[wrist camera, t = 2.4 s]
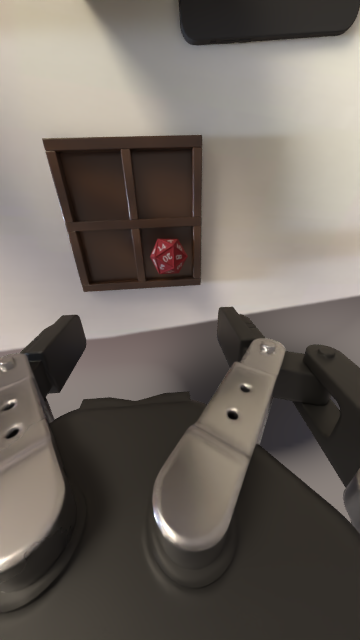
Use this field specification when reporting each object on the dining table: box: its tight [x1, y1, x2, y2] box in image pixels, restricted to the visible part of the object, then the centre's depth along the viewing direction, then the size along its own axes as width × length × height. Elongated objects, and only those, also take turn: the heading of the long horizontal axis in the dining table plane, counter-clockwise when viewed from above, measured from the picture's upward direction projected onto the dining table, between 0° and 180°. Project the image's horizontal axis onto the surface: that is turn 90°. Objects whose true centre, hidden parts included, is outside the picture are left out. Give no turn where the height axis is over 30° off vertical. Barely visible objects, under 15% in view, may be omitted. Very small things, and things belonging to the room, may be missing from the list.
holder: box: [42, 135, 202, 292], centre depth 23 cm, size 15×15×1 cm
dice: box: [150, 239, 188, 274], centre depth 23 cm, size 4×4×4 cm
